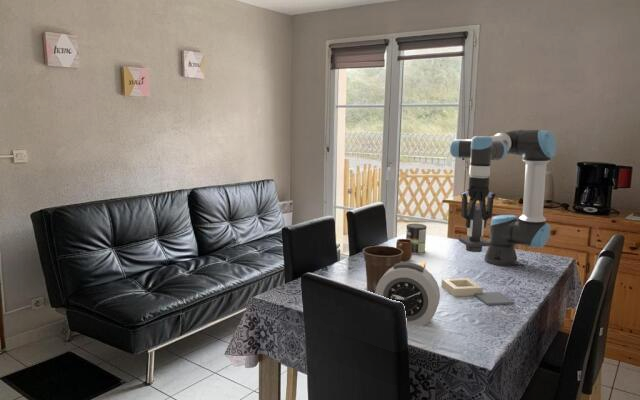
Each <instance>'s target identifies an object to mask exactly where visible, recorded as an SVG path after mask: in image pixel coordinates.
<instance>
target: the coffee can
mask: <svg viewBox="0 0 640 400" xmlns="http://www.w3.org/2000/svg"><path fill="white" fill-rule="evenodd" d="M405 234H406V236H405V239H408V240H411V241H412V252H411V255H422V254H425V253H426V240H427V239H426V238H427V225H425V224H423V223H407V224H406V233H405Z"/></svg>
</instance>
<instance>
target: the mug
mask: <svg viewBox="0 0 640 400" xmlns="http://www.w3.org/2000/svg"><path fill="white" fill-rule="evenodd" d="M395 245H396V246H395V248H399V249H401V250H402V251H403V254H402V257H401V262H402V261H403V262H408V261H410V260H411V259H412V254H411V252H412V241H411V240H408V239H406V238H399V239H398V238H397V240H396V243H395Z"/></svg>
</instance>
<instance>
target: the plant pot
mask: <svg viewBox="0 0 640 400" xmlns="http://www.w3.org/2000/svg"><path fill="white" fill-rule="evenodd" d="M362 252H363V256H364V257H363V258H364V262H365V276H366V277H365V278H366V288H367V290H369V291H370V292H372V293H375V290H376V286H377V284H378V282H379V280H380V279H381V278H382V277H383V275H384V274H385V273H386V272H387V271H388V270H389V269H390V268H392V267H394V265H395V264H397V263H402V261H401V257H402V254H403V251H402V250H401V249H399V248H396V246H395V247H394V246H388V245H373V246H372V245H371V246H366V247H365V248H363V249H362Z"/></svg>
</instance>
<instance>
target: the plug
mask: <svg viewBox="0 0 640 400" xmlns="http://www.w3.org/2000/svg"><path fill="white" fill-rule="evenodd" d="M471 220H473V228H472V237H470V236H468V237H459V238H458V241H459V243H462V244H463V245H465V250H466V251H467V252H470V253H482V252H483V247H489V246H491V243H490V241H488V240H486V239H484V238H482V237H481V236H480V233H481V220H482V210H480V204H475V206H474V210H473V214H472V218H471Z"/></svg>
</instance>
